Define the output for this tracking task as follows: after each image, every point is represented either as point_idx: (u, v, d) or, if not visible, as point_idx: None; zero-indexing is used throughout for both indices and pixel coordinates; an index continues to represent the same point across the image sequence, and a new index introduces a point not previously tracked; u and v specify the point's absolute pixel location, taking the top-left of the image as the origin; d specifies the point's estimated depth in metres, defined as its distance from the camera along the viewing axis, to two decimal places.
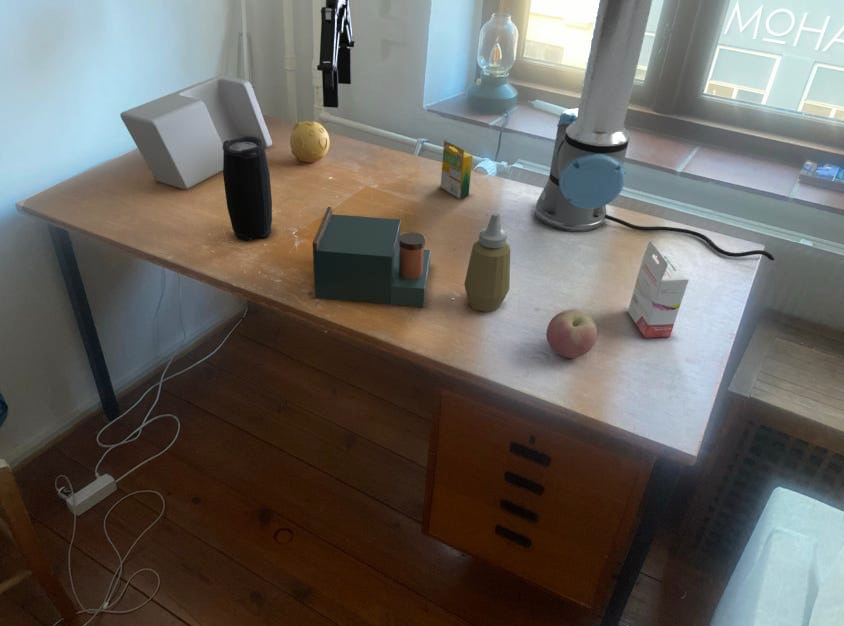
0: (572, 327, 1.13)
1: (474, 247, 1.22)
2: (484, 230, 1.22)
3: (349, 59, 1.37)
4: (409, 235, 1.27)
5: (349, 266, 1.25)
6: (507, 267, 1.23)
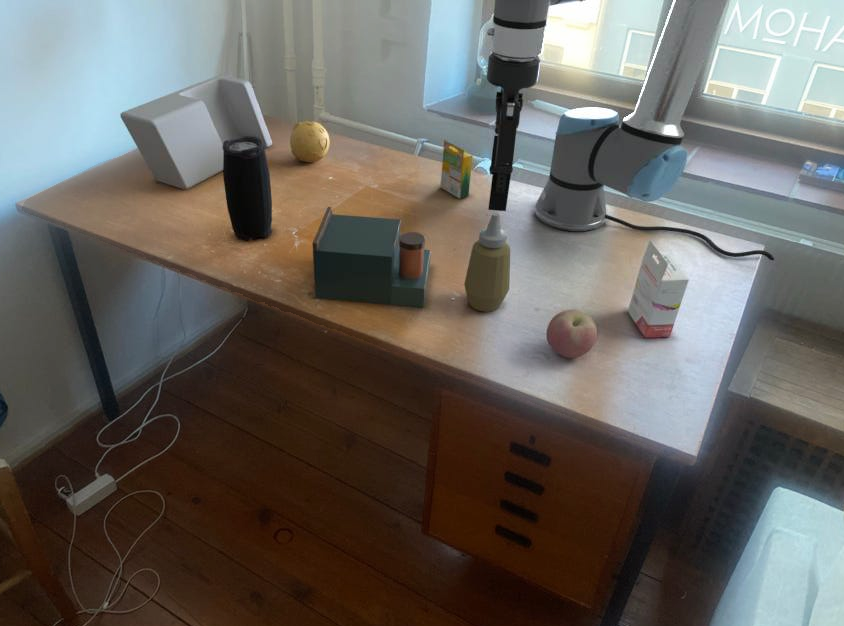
0: (572, 327, 1.13)
1: (474, 247, 1.22)
2: (484, 230, 1.22)
3: None
4: (409, 235, 1.27)
5: (349, 266, 1.25)
6: (507, 267, 1.23)
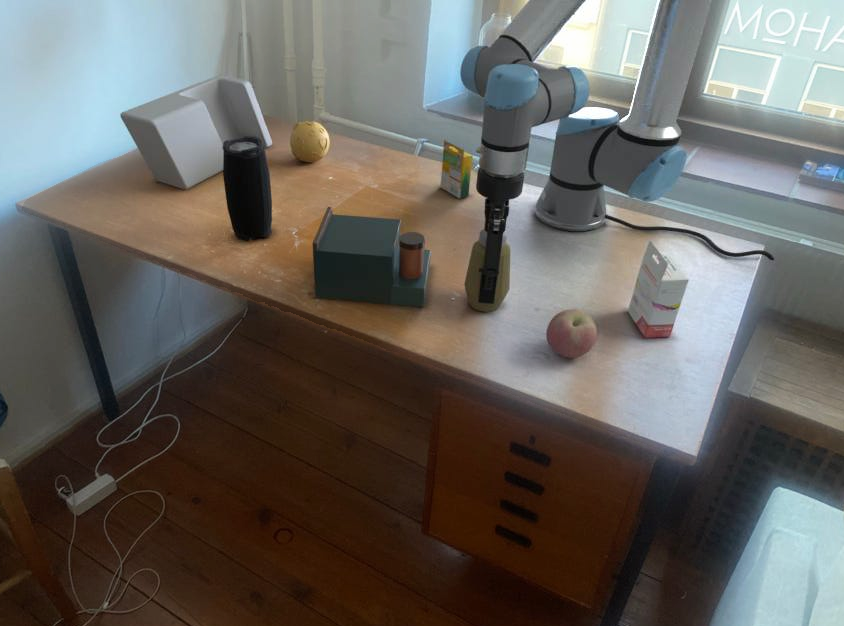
0: (572, 327, 1.13)
1: (474, 247, 1.22)
2: (484, 230, 1.22)
3: None
4: (409, 235, 1.27)
5: (349, 266, 1.25)
6: (507, 267, 1.23)
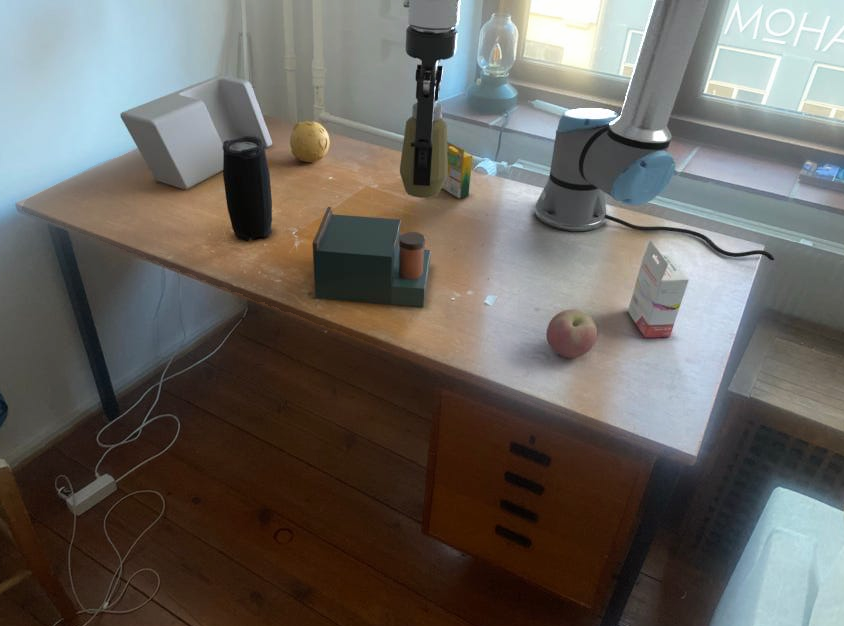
0: (572, 327, 1.13)
1: (407, 122, 1.12)
2: None
3: None
4: (409, 235, 1.27)
5: (349, 266, 1.25)
6: (443, 145, 1.13)
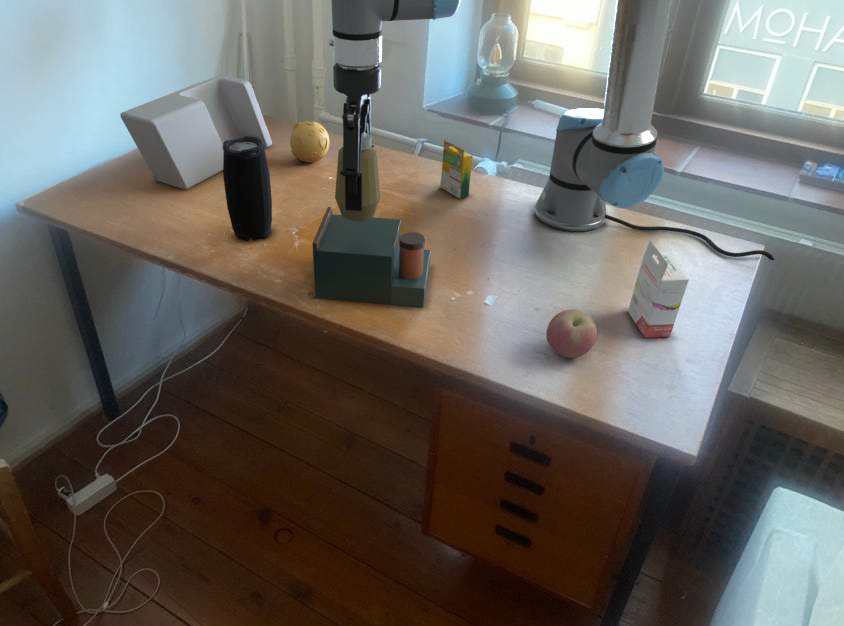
0: (572, 327, 1.13)
1: (339, 151, 1.19)
2: None
3: None
4: (409, 235, 1.27)
5: (349, 266, 1.25)
6: (374, 172, 1.20)
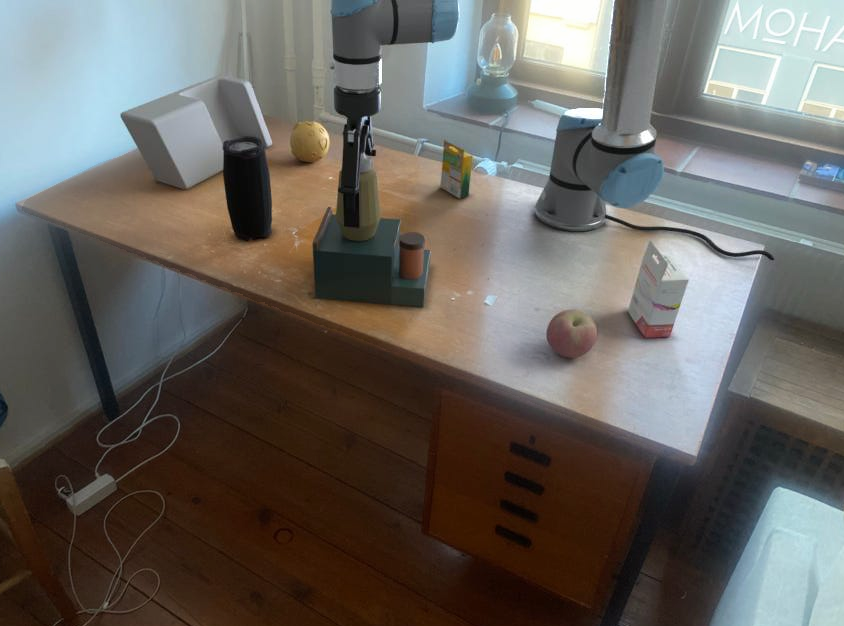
0: (572, 327, 1.13)
1: (340, 173, 1.21)
2: None
3: None
4: (409, 235, 1.27)
5: (349, 266, 1.25)
6: (374, 193, 1.22)
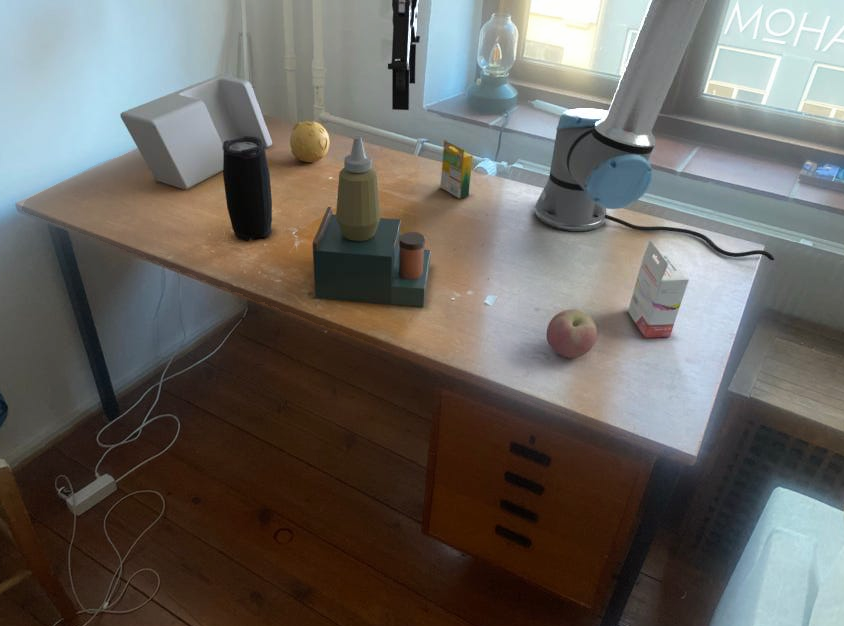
0: (572, 327, 1.13)
1: (340, 173, 1.21)
2: (349, 155, 1.21)
3: (414, 56, 1.24)
4: (409, 235, 1.27)
5: (349, 266, 1.25)
6: (374, 193, 1.22)
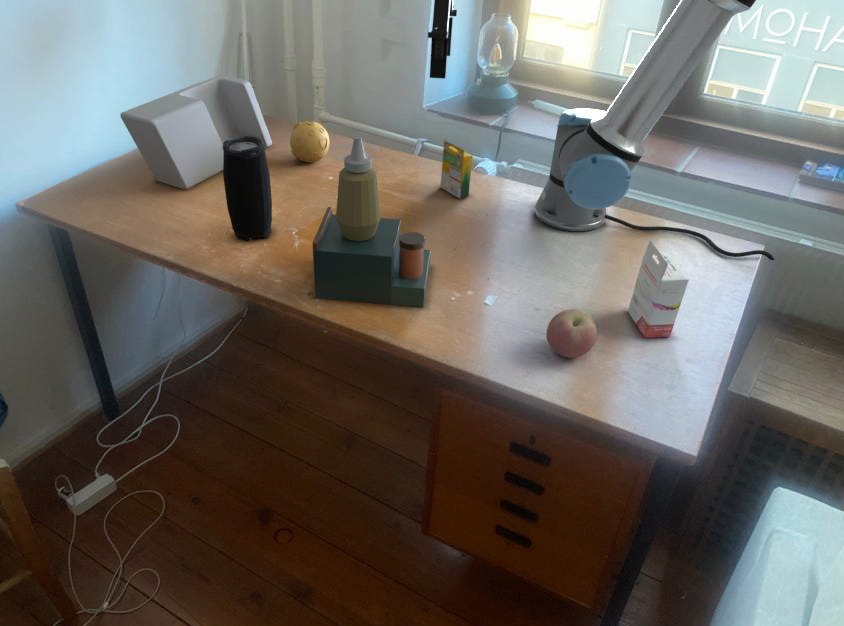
0: (572, 327, 1.13)
1: (340, 173, 1.21)
2: (349, 155, 1.21)
3: (451, 29, 1.29)
4: (409, 235, 1.27)
5: (349, 266, 1.25)
6: (374, 193, 1.22)
